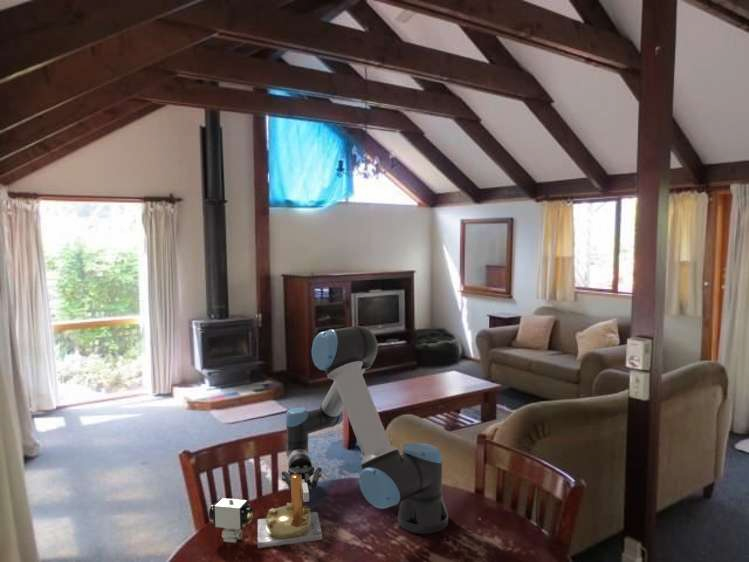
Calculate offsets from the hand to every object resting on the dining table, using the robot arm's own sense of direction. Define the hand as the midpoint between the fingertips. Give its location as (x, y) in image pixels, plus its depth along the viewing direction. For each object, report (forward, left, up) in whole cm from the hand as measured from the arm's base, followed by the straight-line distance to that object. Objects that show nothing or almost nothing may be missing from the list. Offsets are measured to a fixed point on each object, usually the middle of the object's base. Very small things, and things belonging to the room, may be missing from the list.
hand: (306, 497), depth 151 cm
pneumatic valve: (+21, -3, -11) cm, 24 cm away
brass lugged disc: (+5, -3, -9) cm, 11 cm away
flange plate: (+5, -3, -11) cm, 13 cm away
